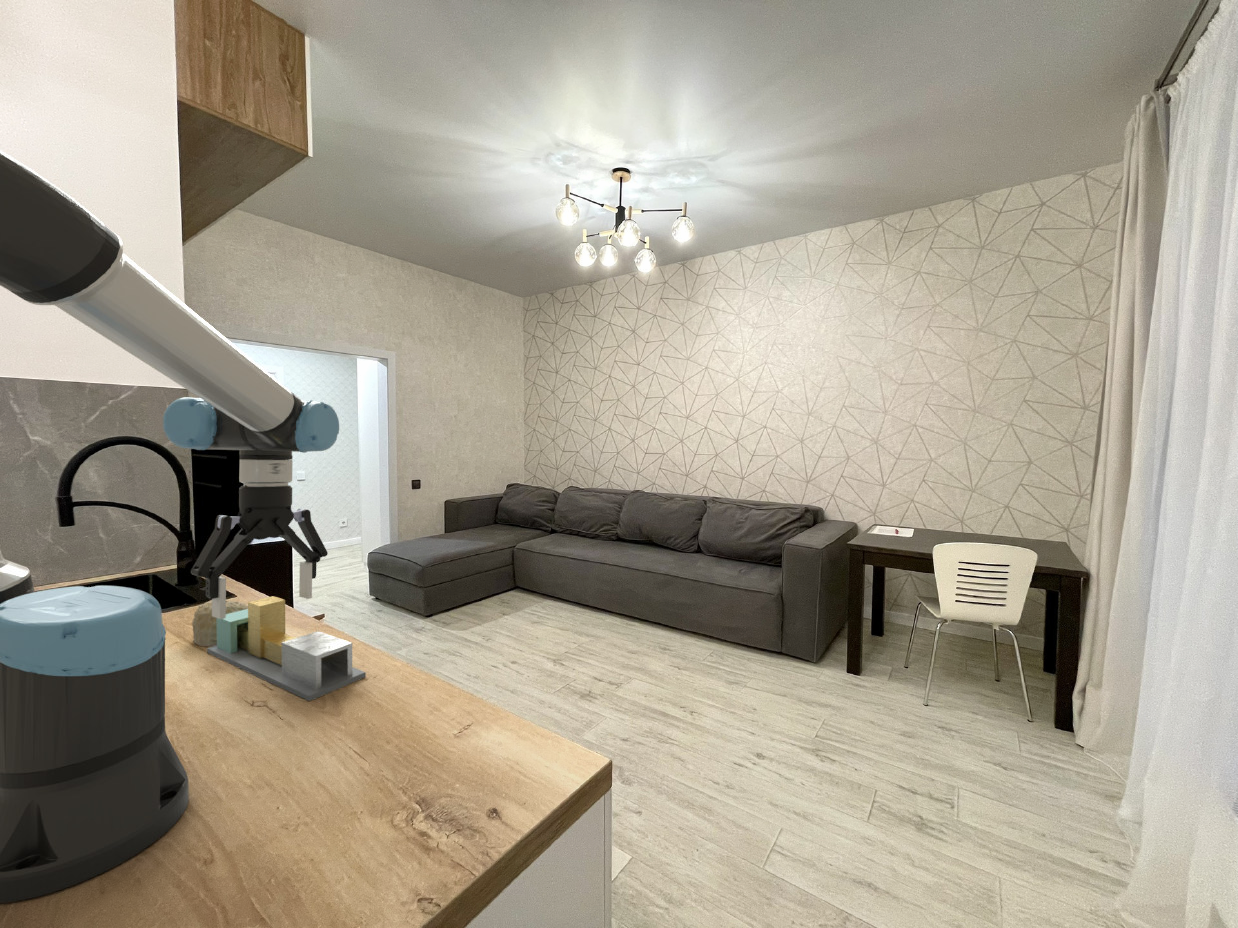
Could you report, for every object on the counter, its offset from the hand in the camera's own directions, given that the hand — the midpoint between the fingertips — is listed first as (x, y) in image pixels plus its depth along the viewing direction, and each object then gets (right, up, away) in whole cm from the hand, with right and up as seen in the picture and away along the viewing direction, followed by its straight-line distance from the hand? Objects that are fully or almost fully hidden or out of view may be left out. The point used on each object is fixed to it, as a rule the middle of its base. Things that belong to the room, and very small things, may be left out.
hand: (265, 606), depth 87 cm
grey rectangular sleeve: (+13, -10, -6) cm, 17 cm away
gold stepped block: (+1, -8, 0) cm, 8 cm away
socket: (-7, -9, +5) cm, 12 cm away
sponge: (-15, -9, +10) cm, 20 cm away
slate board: (+4, -10, -1) cm, 10 cm away
